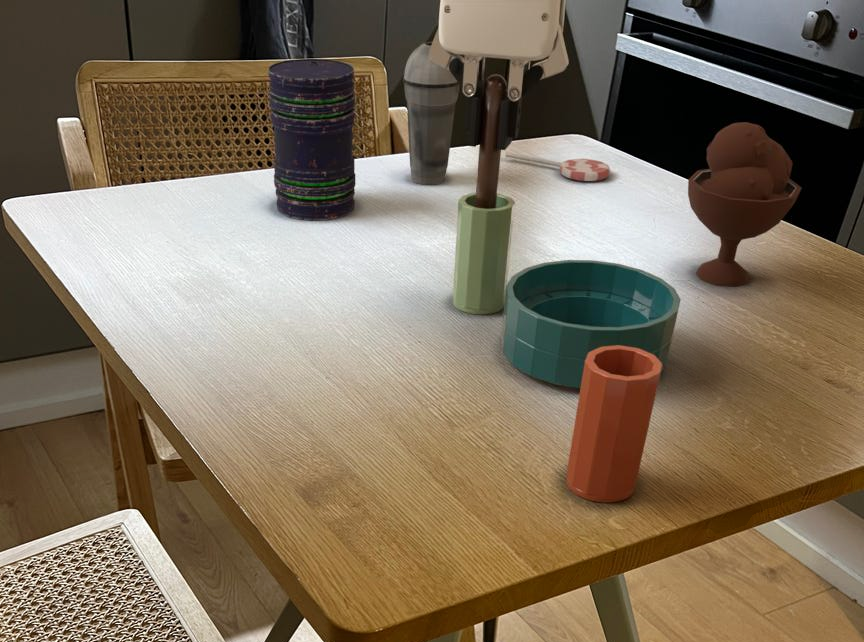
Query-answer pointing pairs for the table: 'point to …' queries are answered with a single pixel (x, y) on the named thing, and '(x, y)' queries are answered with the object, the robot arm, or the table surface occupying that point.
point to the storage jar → (313, 137)
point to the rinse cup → (482, 255)
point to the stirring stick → (489, 143)
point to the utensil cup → (612, 422)
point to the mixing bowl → (583, 316)
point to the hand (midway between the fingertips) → (490, 142)
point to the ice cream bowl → (740, 195)
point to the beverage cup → (429, 115)
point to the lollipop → (573, 167)
